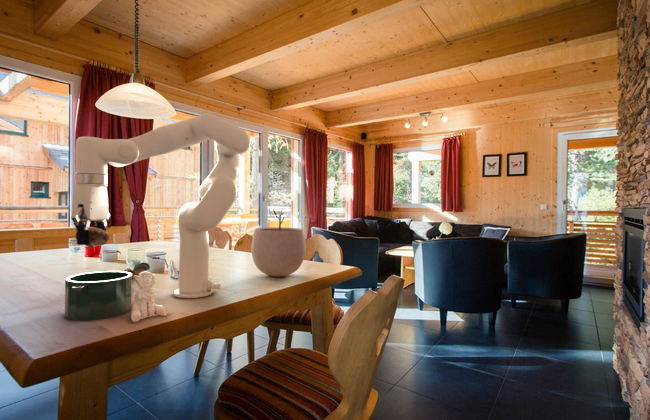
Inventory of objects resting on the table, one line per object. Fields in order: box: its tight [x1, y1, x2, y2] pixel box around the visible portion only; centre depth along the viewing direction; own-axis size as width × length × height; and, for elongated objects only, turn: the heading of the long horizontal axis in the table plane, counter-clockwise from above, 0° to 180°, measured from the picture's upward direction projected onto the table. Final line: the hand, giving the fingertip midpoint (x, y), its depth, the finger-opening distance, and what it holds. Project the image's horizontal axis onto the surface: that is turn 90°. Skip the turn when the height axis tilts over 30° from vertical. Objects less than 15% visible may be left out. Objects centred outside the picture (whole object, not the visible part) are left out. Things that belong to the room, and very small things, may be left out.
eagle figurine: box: [123, 262, 151, 281], centre depth 141 cm, size 8×7×9 cm
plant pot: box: [251, 208, 307, 278], centre depth 155 cm, size 24×24×30 cm
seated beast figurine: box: [130, 271, 169, 323], centre depth 96 cm, size 10×9×12 cm
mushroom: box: [75, 226, 110, 248], centre depth 100 cm, size 8×8×6 cm
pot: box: [64, 270, 133, 321], centre depth 99 cm, size 16×21×10 cm
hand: (92, 242), depth 100 cm, fingers closed on mushroom, 7 cm apart
